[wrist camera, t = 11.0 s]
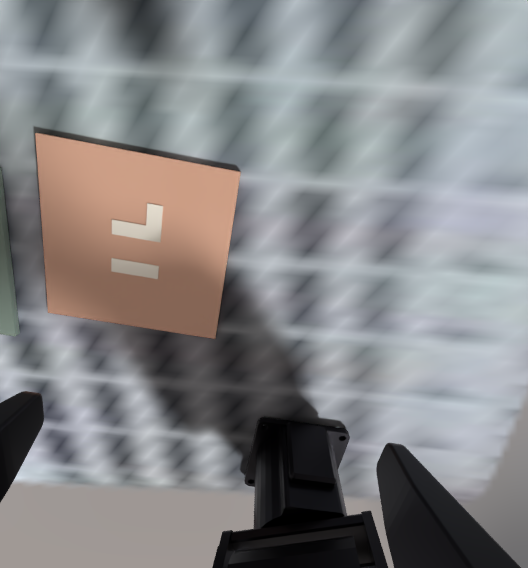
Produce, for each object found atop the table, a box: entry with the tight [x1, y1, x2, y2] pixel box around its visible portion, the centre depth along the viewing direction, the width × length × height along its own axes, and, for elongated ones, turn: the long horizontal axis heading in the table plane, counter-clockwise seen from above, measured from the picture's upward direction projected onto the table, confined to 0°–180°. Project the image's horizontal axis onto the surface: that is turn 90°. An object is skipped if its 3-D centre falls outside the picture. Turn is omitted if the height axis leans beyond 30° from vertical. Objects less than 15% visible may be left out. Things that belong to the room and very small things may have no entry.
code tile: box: [35, 133, 241, 339], centre depth 20 cm, size 10×10×1 cm
